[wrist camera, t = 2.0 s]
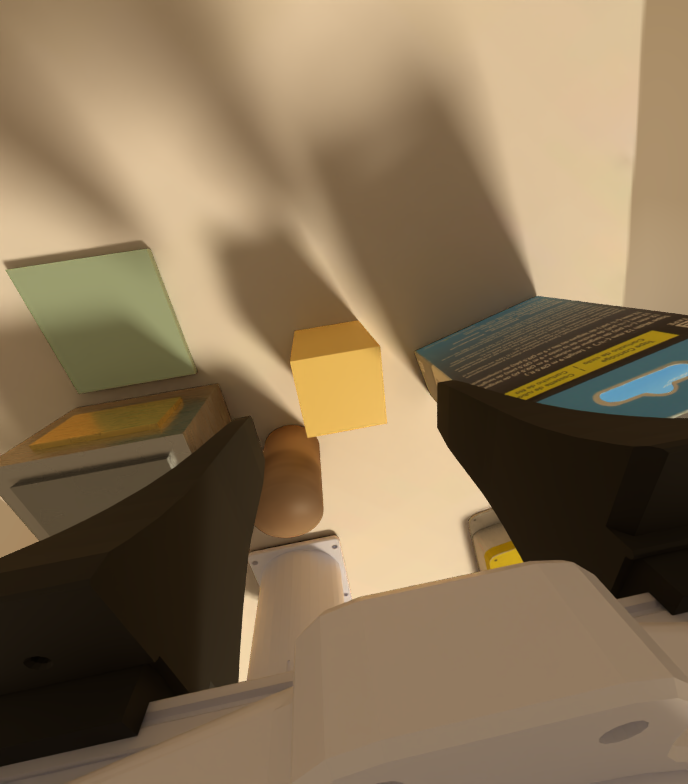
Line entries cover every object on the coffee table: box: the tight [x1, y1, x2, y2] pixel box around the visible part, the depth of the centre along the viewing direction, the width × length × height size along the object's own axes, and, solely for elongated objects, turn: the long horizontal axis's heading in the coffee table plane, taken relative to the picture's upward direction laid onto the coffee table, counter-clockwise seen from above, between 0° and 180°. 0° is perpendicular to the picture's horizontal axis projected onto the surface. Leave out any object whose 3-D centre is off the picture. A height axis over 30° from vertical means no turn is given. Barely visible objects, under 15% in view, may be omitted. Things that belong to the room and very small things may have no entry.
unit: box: [0, 383, 232, 541], centre depth 17 cm, size 7×9×6 cm
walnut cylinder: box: [254, 425, 323, 538], centre depth 19 cm, size 4×4×6 cm
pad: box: [6, 249, 197, 394], centre depth 16 cm, size 7×7×1 cm
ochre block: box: [290, 320, 387, 438], centre depth 16 cm, size 4×4×6 cm
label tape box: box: [414, 296, 688, 418], centre depth 14 cm, size 9×4×12 cm, turn 113°
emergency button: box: [468, 508, 523, 572], centre depth 28 cm, size 9×4×15 cm
